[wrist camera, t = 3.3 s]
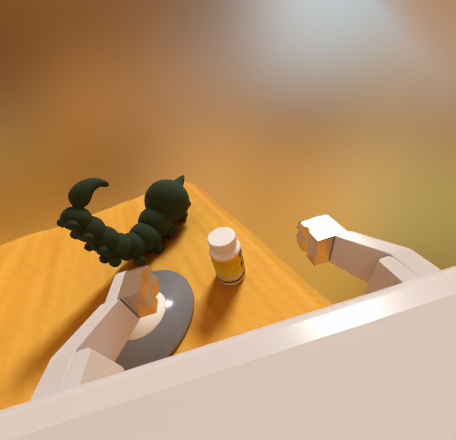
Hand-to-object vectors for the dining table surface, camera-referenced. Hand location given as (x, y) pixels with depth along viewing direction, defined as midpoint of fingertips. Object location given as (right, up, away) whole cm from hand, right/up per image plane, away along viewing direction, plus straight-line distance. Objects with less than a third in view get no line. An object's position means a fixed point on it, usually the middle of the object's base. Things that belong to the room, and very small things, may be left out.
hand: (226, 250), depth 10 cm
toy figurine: (-14, -2, +31) cm, 35 cm away
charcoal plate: (-12, -13, +17) cm, 24 cm away
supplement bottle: (+1, -7, +20) cm, 22 cm away
